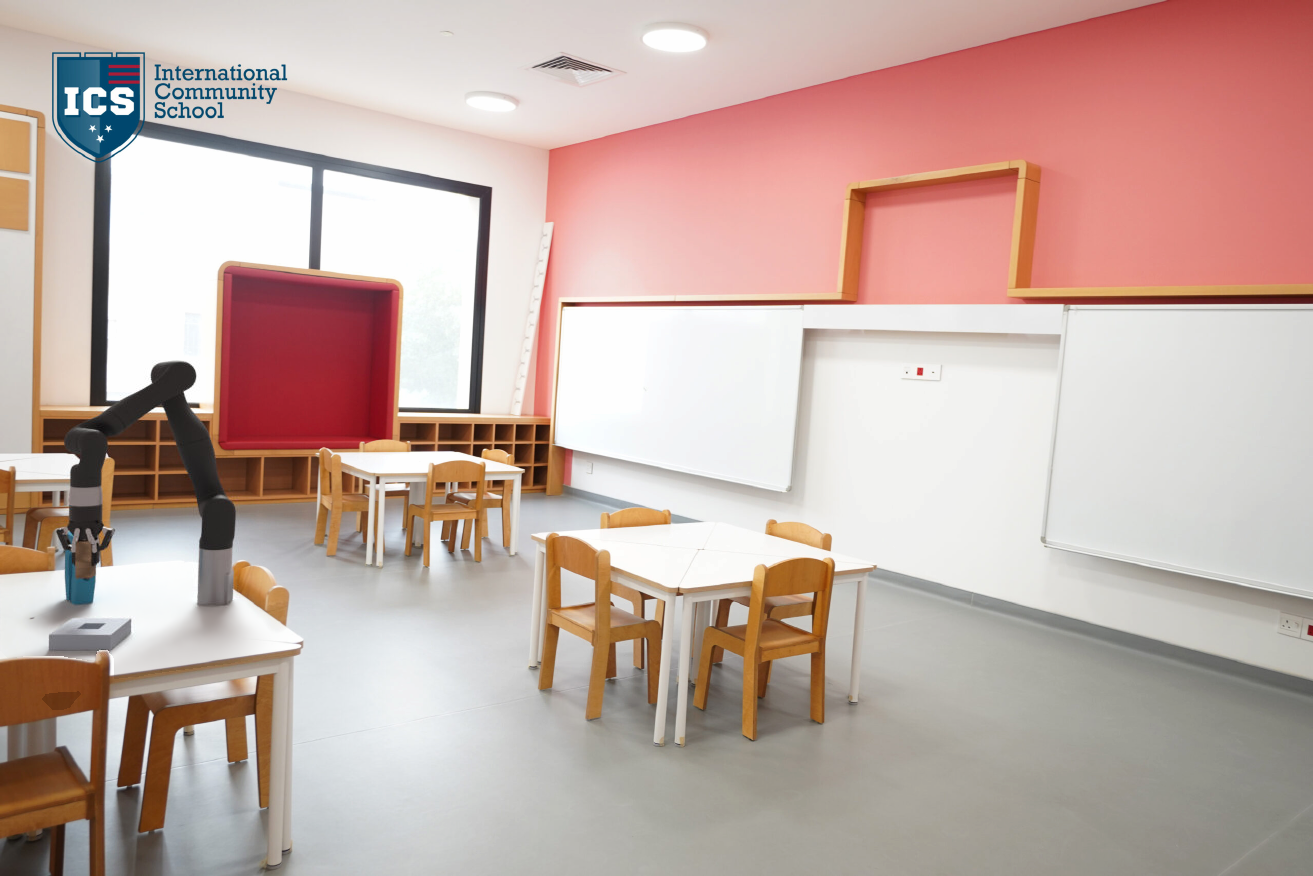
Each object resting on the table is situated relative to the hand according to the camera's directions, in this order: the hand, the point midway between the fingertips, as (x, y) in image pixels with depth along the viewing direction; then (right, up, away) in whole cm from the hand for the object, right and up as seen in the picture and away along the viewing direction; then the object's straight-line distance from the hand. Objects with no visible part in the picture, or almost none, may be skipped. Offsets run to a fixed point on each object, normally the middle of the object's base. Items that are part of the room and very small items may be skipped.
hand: (85, 565), depth 234 cm
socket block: (+7, -19, -8) cm, 21 cm away
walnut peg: (0, -3, 0) cm, 3 cm away
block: (-18, -14, +24) cm, 33 cm away
